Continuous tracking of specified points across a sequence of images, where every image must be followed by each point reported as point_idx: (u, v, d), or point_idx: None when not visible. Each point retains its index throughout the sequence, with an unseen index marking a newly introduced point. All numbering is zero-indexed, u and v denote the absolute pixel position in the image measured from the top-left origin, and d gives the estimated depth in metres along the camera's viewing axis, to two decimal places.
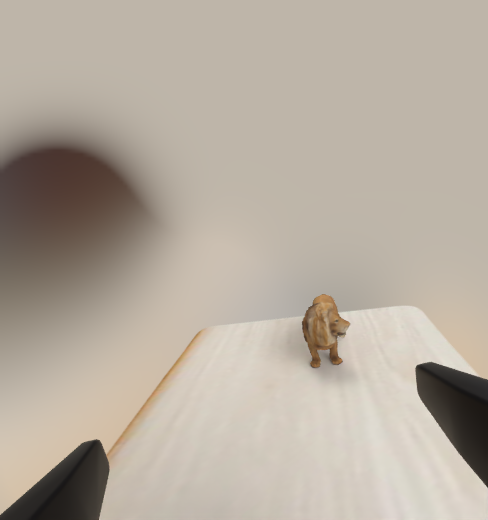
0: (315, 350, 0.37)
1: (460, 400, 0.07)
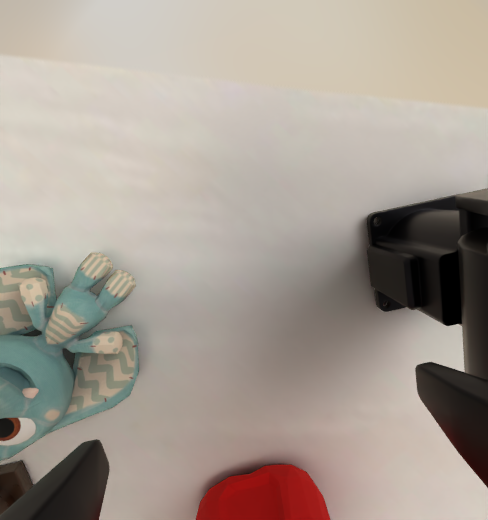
0: None
1: (460, 400, 0.07)
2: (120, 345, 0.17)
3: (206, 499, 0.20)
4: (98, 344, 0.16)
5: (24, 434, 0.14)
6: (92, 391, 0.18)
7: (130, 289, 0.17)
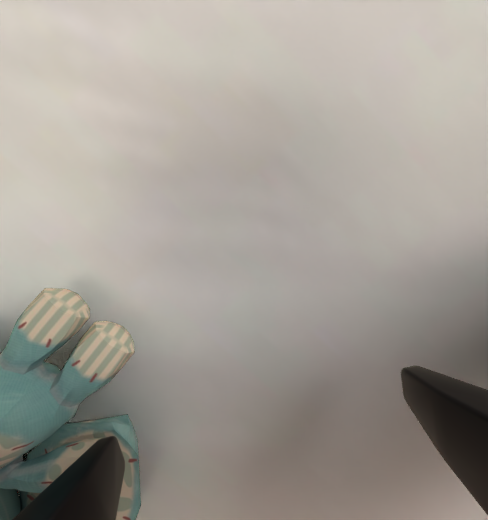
0: None
1: (442, 404, 0.07)
2: None
3: None
4: (57, 477, 0.08)
5: None
6: None
7: (124, 360, 0.08)
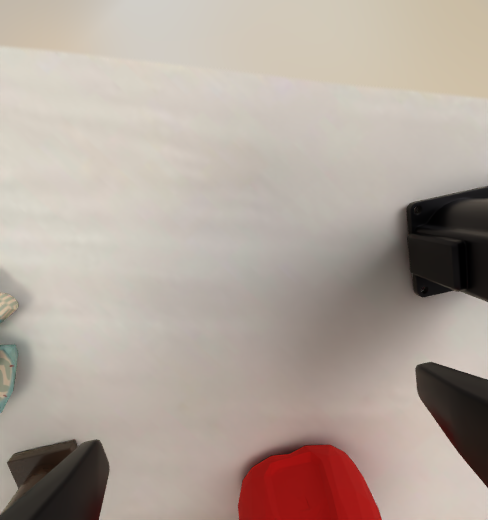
0: None
1: (460, 400, 0.07)
2: None
3: (250, 476, 0.21)
4: None
5: None
6: None
7: (9, 312, 0.18)
